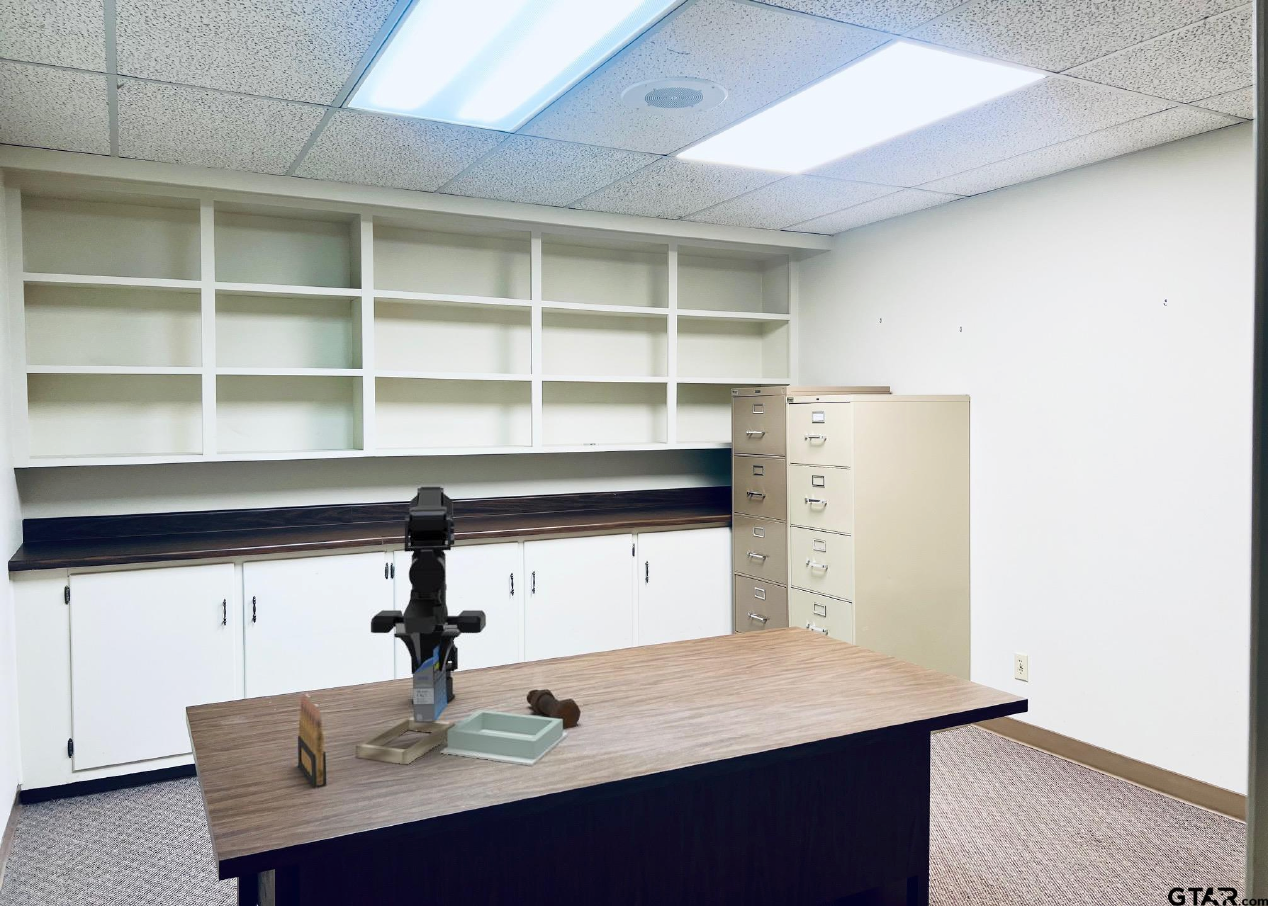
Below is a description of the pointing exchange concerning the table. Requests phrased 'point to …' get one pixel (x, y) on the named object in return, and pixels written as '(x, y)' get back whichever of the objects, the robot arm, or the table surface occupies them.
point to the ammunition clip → (311, 743)
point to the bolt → (554, 707)
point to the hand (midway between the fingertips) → (429, 671)
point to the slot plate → (505, 737)
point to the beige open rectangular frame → (374, 744)
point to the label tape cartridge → (429, 690)
